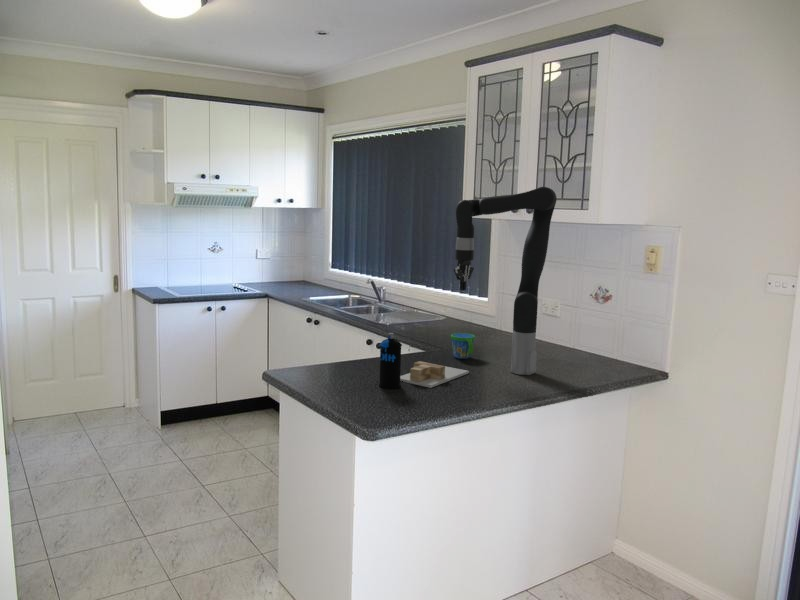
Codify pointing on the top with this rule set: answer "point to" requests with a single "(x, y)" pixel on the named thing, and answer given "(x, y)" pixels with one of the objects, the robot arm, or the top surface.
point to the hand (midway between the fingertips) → (463, 290)
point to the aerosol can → (390, 363)
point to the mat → (431, 382)
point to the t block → (426, 371)
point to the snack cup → (462, 345)
